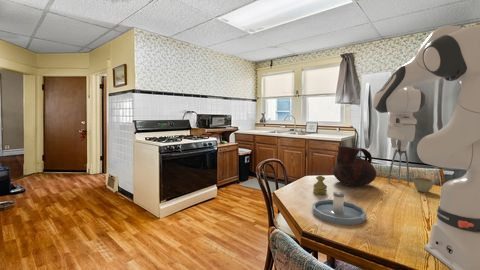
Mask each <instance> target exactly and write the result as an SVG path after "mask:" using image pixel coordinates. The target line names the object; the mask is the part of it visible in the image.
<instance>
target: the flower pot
mask: <svg viewBox="0 0 480 270" xmlns="http://www.w3.org/2000/svg"><path fill="white" fill-rule="evenodd" d="M412 181H413V185H414V187H415V189H416V191H418V192H420V193H425V194H426V193H429V191H430V190H431V189H432V188H433V186H434V183H435V180H433V179H430V178H426V177H418V176H417V177H413V178H412Z"/></svg>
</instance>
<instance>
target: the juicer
mask: <svg viewBox="0 0 480 270" xmlns="http://www.w3.org/2000/svg"><path fill="white" fill-rule="evenodd" d="M396 144H397V148H395V150H394V154H393V156H392V158H391V163H390V168H389V172H388V173H389V174H388V184H390V182H391V176H392V171H393V170H392V169H393V165H394V163H395V162H394V161H395V158H396V155H397V153H398V156H399V164H398V178H397V179H398V182H400V181H401V180H400V179H401V166H402V165H401V164H402V156H403V154H404V156H405V163H406V175H407V176H406V179H407V181H406V182H407V183H406V184H407V186H410V168H409V167H410V166H409V165H410V164H409V159H408V157H409V156H408V154H407V150H406V151H401V150H400V147H401V144H402V143H401V141H400V140H397V141H396Z"/></svg>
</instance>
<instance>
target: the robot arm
mask: <svg viewBox="0 0 480 270" xmlns="http://www.w3.org/2000/svg"><path fill="white" fill-rule="evenodd" d="M442 78H443V79H444V80H445V81H447V82H454V81H457V80H460V82H461V88H460V91H459V95H458V98H457V102H456V105H455V109H454V111H453V114H452V116H451V118H450V120H449V122H447V123H446V124H445V126H443V127H442V128H441V129H439V130H437V131H435V132H433V133H430V134H427V135H425V136H424V137H422V138H421V139H420V140H419V141H418V143H417V147H416V153H417V156H418V158H419V159H420V161H421V162H422V163H424V164H427V165H430V166H434V167H439V168H443V169H444V168H446V169H455V170H465V171H466V173H465V174H464V175H462V176H461V177H458V178H454V179H449V180H447V181H446V182H443V183H444V184H442V185H441V187H440V189H441V190H440V197H439V198H440V200H439V206H437V210H436V218H437V219H436V221H435V222H434V224H432V226H431V230H430V235H429V240H428V241H429V242H428V243H426V244H425V245H424V250H426V252H428V253H429V254H431V255H432V256H433V257H435V258H436V259H438V260H439V261H440V262H442V263H443V264H444V265H446V266H447V268H449V269H451V270H480V24H476V25H473V26H472V25H470V26H468V27H464V28H461V27H459V26H457V25H444V26H440V27H438V28H436V29H434V31H432V32H431V33H430V34H429V36H428V37H427V38H426V39H425V41H424V42H423V43H422V44H421V45H420V48H419V49H418V51H417V53H416V54H415V55H414V57H412V58H411V59H410V60H409V61H408V62H406V63H405V64H402V65H401V66H399V67H398V68H397V69H395V71H394V72H393V73H392V74H391V75H390V77H389V78H388V79H387V81H386V82H385V83H384V85H383V86H382V88H381V89H379V90H378V91H377V92H376V93H375V94H374V97H373V103H372V104H373V105H372V106H373V109H375V111H377V112H378V113H380V114H385V113H389V114H388V115H389V117H388V124H387V130H386V137H387V138H389V139H390V143H391V148H393V149H398V148H397V141H398V140H400V141H401V143H402V144H401V147H400V150H401V151H406V152H407V146H408V144H409V142H410V143H412V142H413V141H414V140H415V135H416V125H417V124H418V120H417V118H415V117H414V114H413V113H416V112H417V113H418V112H419V111H421V110H422V109H423V108H424V107H425V105H426V94H425V93H424V92H423V91H422V90H421V89H416V88H414V85H420V84H427V83H429V84H430V83H433V82H436V81H439V80H440V79H442Z"/></svg>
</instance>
